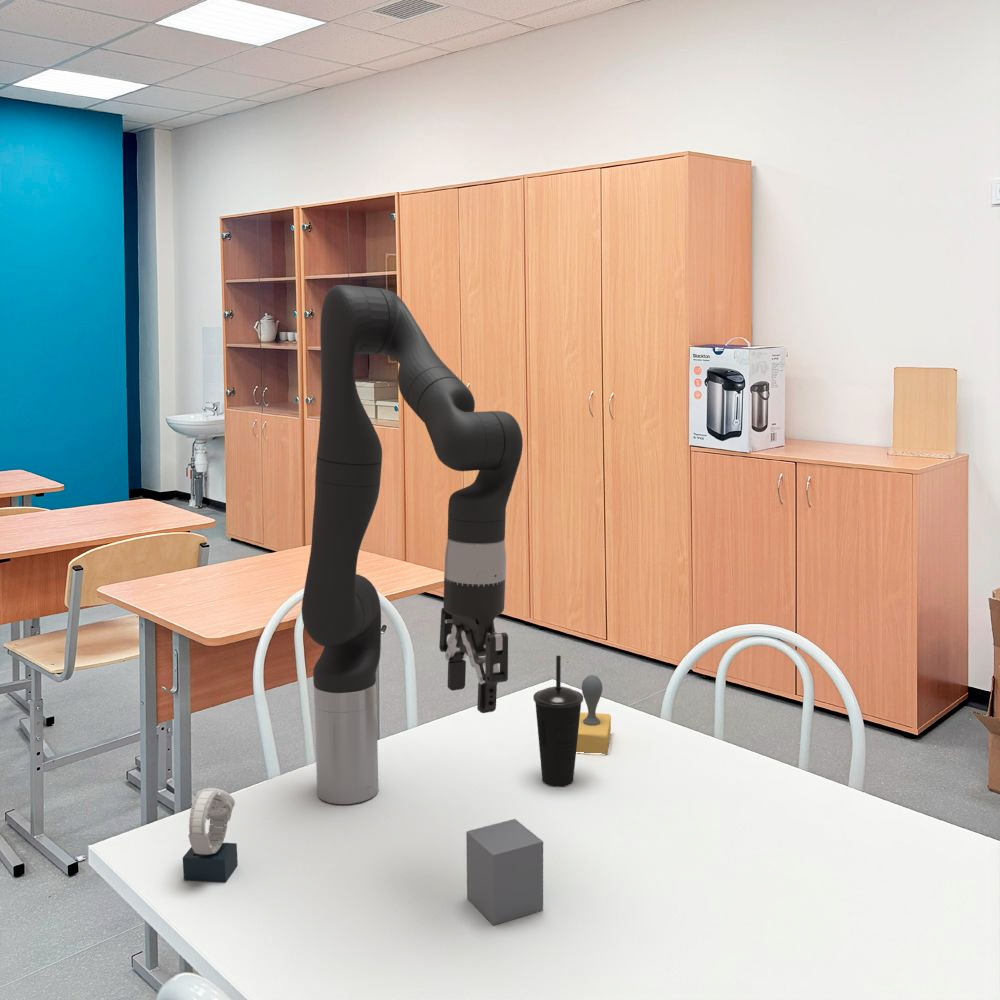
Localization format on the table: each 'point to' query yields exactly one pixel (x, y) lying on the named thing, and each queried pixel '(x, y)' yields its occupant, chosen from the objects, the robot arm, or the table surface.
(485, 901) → the grey block
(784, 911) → the table surface
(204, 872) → the watch
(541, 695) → the drinking cup
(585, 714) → the rubber stamp
